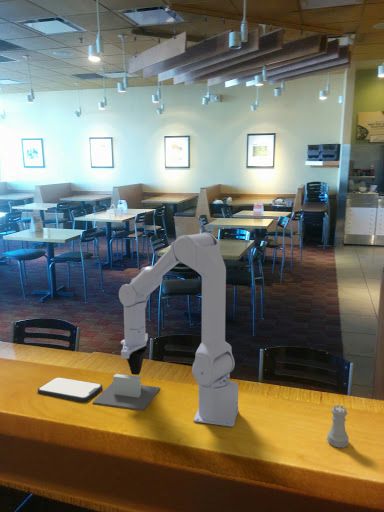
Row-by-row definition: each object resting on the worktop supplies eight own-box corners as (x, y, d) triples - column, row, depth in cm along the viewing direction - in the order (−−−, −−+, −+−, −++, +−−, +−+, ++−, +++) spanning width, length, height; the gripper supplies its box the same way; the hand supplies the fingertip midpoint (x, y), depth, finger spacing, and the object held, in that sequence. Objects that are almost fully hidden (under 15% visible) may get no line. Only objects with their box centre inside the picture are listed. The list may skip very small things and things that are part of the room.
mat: (160, 388, 113) (160, 387, 113) (144, 410, 102) (144, 409, 102) (113, 383, 117) (113, 381, 117) (92, 403, 105) (92, 402, 105)
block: (140, 394, 109) (140, 376, 108) (138, 397, 107) (138, 379, 107) (116, 391, 111) (115, 373, 110) (113, 394, 109) (113, 376, 108)
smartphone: (35, 395, 111) (85, 404, 105) (35, 389, 111) (85, 398, 105) (57, 381, 119) (104, 389, 114) (56, 376, 119) (104, 384, 113)
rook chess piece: (334, 434, 92) (336, 400, 90) (353, 443, 88) (355, 408, 87) (322, 441, 89) (324, 406, 88) (340, 451, 85) (342, 415, 84)
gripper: (131, 317, 120) (132, 361, 122) (109, 333, 106) (111, 383, 108) (154, 319, 118) (155, 364, 121) (135, 336, 105) (136, 386, 107)
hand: (135, 373), depth 114 cm, fingers closed
